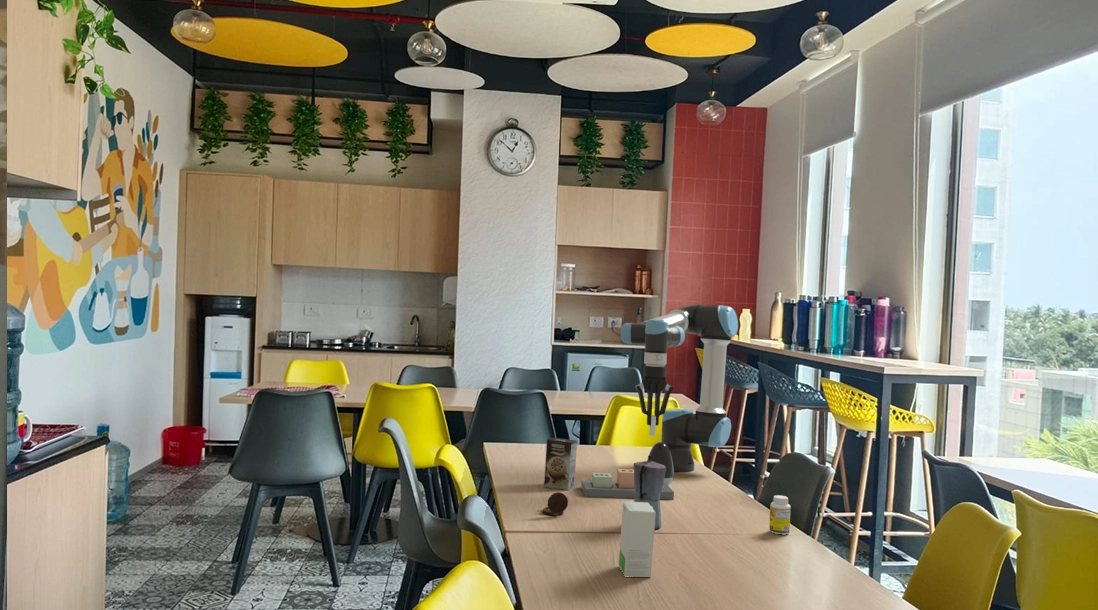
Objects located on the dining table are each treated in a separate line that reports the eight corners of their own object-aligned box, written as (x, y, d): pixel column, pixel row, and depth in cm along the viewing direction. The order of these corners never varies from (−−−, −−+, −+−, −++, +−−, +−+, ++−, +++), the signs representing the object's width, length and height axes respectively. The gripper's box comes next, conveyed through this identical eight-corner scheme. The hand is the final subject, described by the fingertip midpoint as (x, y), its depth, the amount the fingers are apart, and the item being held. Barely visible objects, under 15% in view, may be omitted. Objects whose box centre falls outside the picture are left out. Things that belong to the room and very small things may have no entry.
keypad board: (665, 490, 275) (665, 483, 275) (673, 499, 262) (673, 492, 262) (581, 487, 273) (581, 480, 273) (585, 496, 260) (585, 488, 260)
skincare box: (618, 566, 191) (621, 500, 191) (645, 566, 192) (648, 501, 192) (624, 578, 183) (628, 509, 183) (653, 578, 183) (656, 510, 183)
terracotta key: (634, 484, 271) (634, 468, 271) (637, 488, 265) (638, 472, 265) (616, 483, 270) (617, 468, 270) (619, 487, 264) (620, 471, 265)
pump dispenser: (672, 482, 288) (674, 440, 288) (674, 489, 278) (676, 445, 278) (643, 480, 289) (646, 438, 289) (644, 487, 279) (646, 443, 279)
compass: (558, 510, 241) (560, 486, 241) (567, 517, 234) (569, 492, 234) (533, 511, 239) (534, 486, 239) (541, 518, 231) (543, 493, 231)
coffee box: (543, 487, 271) (545, 439, 271) (550, 483, 277) (552, 436, 277) (568, 490, 268) (571, 442, 268) (575, 487, 274) (577, 439, 274)
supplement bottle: (770, 529, 232) (771, 493, 232) (790, 531, 230) (792, 496, 230) (768, 533, 227) (769, 497, 227) (788, 536, 225) (790, 500, 225)
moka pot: (667, 522, 233) (671, 453, 234) (657, 535, 219) (660, 462, 219) (635, 517, 237) (638, 450, 237) (622, 530, 222) (626, 458, 222)
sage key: (608, 488, 270) (609, 472, 270) (611, 492, 264) (612, 476, 264) (591, 487, 270) (592, 472, 270) (593, 491, 264) (594, 476, 264)
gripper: (638, 365, 266) (635, 436, 267) (676, 366, 268) (673, 437, 268) (634, 363, 274) (631, 432, 274) (671, 364, 275) (668, 433, 275)
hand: (652, 435), depth 271 cm, fingers closed
